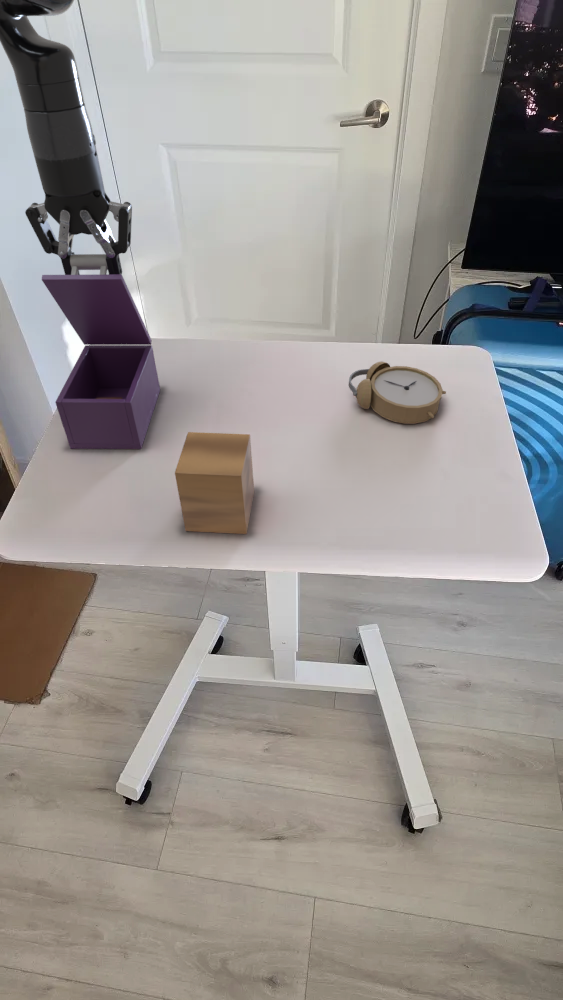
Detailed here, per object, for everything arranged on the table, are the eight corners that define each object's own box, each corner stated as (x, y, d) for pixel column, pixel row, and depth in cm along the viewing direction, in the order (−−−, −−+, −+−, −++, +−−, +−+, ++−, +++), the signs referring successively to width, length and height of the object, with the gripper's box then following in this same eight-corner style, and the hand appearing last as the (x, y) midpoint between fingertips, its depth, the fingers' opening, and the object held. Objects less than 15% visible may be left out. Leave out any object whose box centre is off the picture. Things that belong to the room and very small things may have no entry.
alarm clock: (433, 417, 92) (341, 380, 95) (423, 441, 96) (334, 405, 99) (452, 378, 100) (366, 345, 103) (442, 402, 103) (359, 370, 106)
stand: (246, 534, 80) (241, 475, 73) (185, 531, 81) (174, 472, 74) (254, 492, 86) (250, 434, 79) (197, 489, 87) (187, 431, 80)
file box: (141, 449, 93) (130, 402, 88) (70, 448, 94) (54, 402, 88) (160, 390, 105) (152, 345, 99) (96, 389, 105) (85, 345, 100)
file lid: (121, 279, 83) (125, 244, 84) (41, 279, 83) (46, 245, 85) (151, 344, 99) (154, 314, 100) (84, 344, 99) (87, 315, 101)
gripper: (-4, 157, 75) (37, 293, 86) (114, 156, 74) (140, 293, 86) (17, 140, 80) (54, 270, 92) (128, 138, 79) (151, 270, 91)
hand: (95, 280), depth 89 cm, fingers closed on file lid, 5 cm apart
